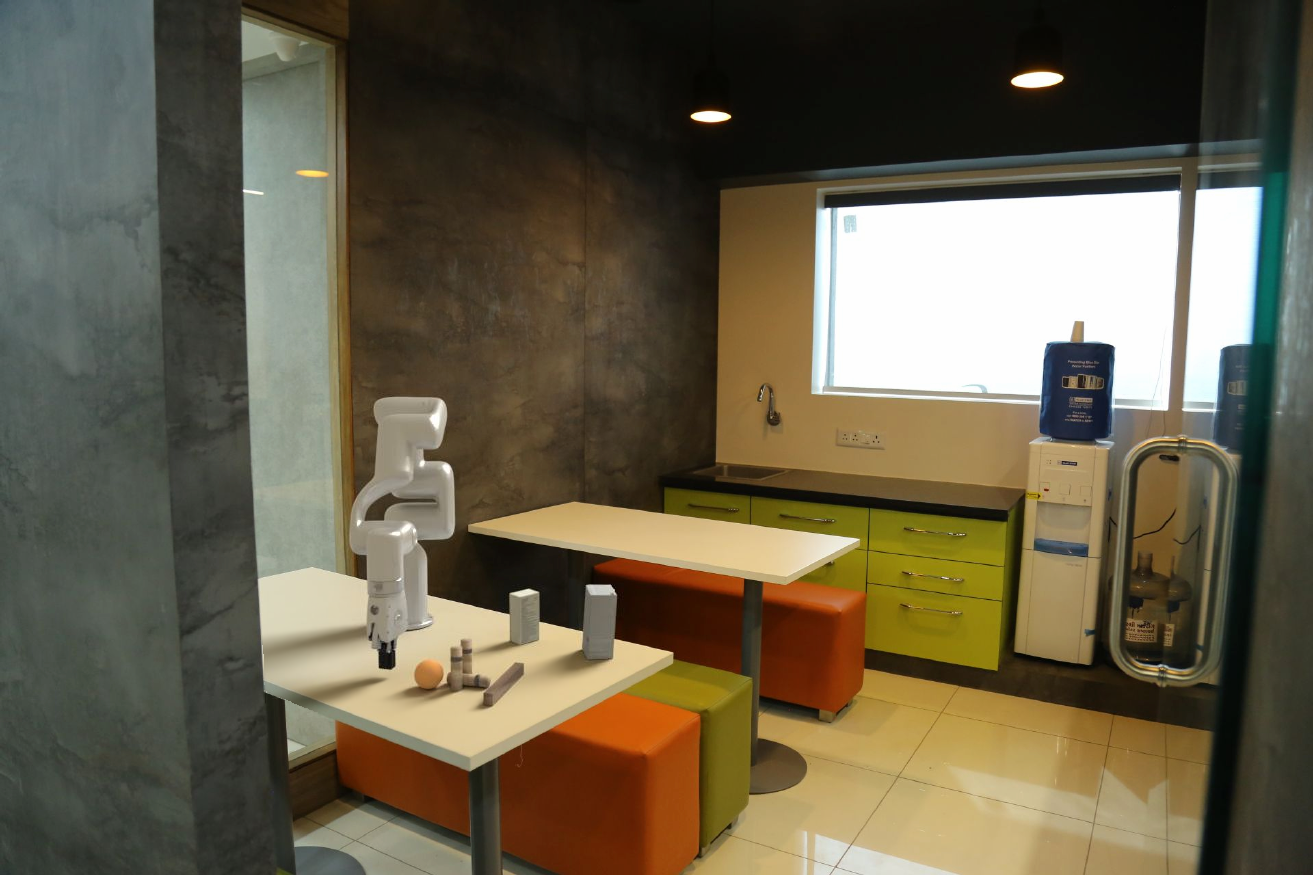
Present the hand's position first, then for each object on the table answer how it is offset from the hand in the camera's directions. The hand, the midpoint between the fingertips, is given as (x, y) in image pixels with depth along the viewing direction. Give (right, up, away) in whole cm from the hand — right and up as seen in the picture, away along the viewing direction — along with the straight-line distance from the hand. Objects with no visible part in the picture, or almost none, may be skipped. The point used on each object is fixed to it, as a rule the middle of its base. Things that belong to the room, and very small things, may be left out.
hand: (387, 667), depth 191 cm
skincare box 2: (+45, -1, +17) cm, 48 cm away
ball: (+11, 0, -6) cm, 12 cm away
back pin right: (+17, -3, -6) cm, 18 cm away
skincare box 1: (+26, 0, +25) cm, 36 cm away
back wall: (+26, -3, -6) cm, 27 cm away
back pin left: (+18, -2, -1) cm, 18 cm away
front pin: (+14, -1, -3) cm, 15 cm away
